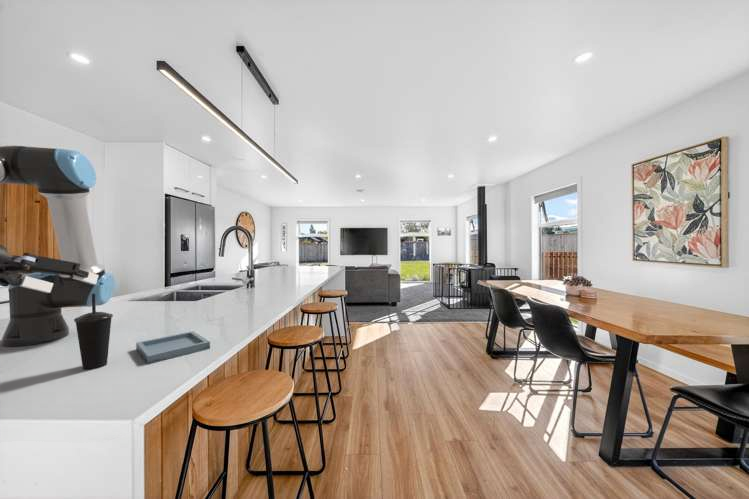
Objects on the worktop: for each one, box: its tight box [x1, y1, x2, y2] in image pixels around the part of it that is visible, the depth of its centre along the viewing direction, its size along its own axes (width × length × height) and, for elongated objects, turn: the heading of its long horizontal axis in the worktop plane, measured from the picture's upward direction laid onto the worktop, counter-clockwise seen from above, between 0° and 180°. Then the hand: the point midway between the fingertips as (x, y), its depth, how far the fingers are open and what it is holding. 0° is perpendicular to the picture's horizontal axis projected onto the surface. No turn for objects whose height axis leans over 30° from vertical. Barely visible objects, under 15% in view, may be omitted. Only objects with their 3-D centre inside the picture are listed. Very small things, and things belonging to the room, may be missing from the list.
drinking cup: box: [73, 294, 114, 371], centre depth 80 cm, size 8×8×20 cm
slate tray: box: [135, 330, 211, 365], centre depth 93 cm, size 16×16×2 cm
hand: (73, 284), depth 81 cm, fingers open, 13 cm apart
